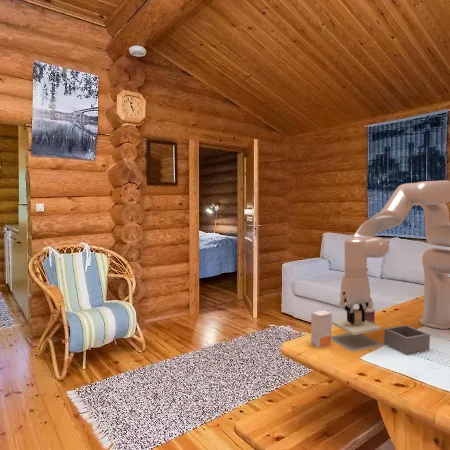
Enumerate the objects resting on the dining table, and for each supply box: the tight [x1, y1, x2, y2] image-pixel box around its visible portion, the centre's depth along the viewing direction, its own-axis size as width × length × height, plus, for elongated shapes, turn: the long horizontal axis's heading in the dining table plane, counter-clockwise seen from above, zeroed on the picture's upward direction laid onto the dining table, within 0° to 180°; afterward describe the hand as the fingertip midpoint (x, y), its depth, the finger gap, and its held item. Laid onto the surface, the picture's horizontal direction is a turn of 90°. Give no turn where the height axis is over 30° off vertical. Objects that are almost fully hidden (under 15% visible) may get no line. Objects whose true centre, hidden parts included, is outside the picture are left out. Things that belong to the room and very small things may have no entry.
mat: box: [331, 332, 385, 352], centre depth 132 cm, size 14×14×1 cm
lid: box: [331, 308, 382, 335], centre depth 132 cm, size 12×12×6 cm
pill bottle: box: [357, 300, 376, 325], centre depth 146 cm, size 6×6×11 cm
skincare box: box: [310, 310, 333, 349], centre depth 129 cm, size 6×4×12 cm
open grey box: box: [383, 324, 431, 356], centre depth 126 cm, size 10×10×6 cm
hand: (355, 321), depth 132 cm, fingers closed on lid, 4 cm apart
